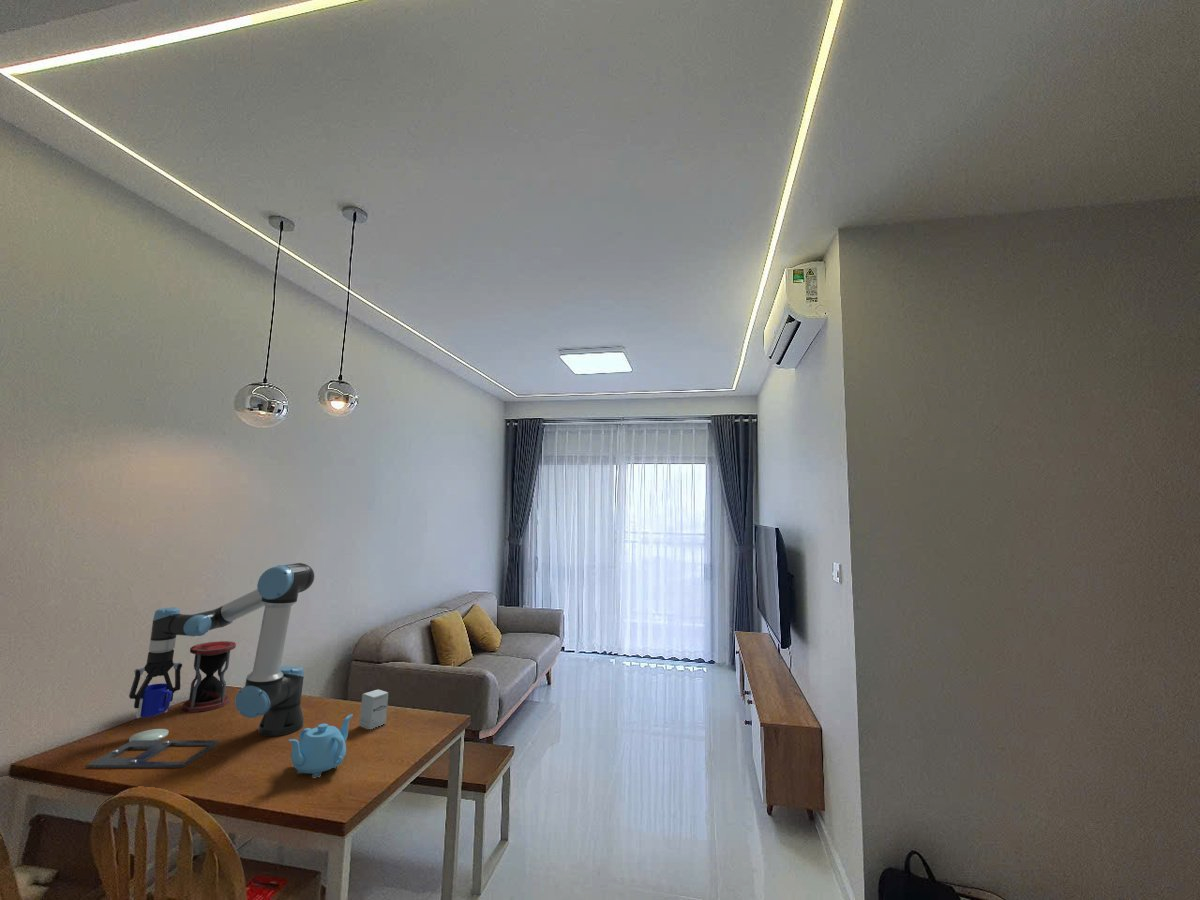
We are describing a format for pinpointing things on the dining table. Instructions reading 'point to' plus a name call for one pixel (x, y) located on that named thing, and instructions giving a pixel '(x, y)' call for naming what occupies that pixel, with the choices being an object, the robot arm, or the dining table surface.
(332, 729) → the teapot
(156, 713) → the mug
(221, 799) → the dining table surface
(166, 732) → the pale grey rounded piece
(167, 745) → the gray cutout board
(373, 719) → the supplement box
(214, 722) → the dining table surface
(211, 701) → the hourglass
